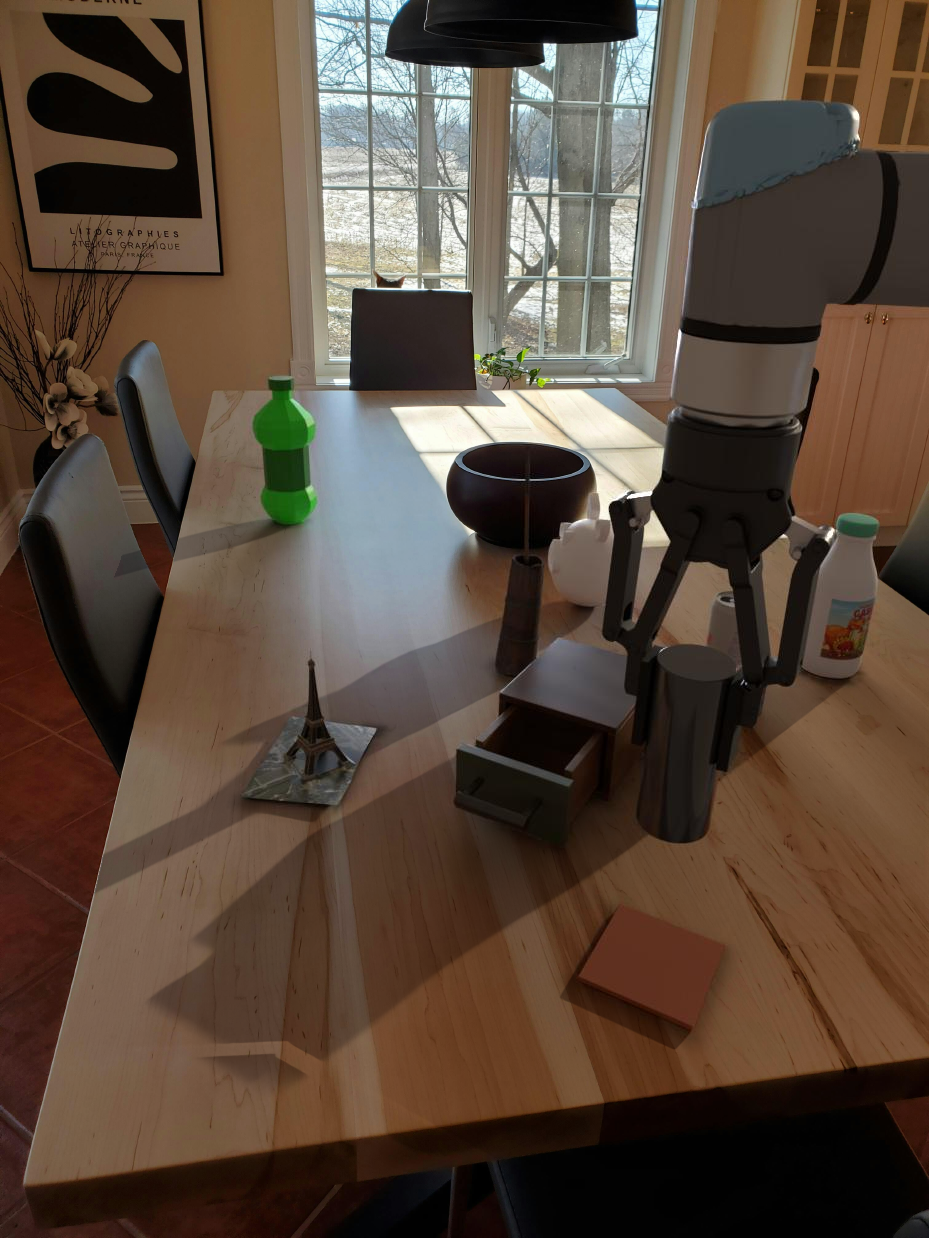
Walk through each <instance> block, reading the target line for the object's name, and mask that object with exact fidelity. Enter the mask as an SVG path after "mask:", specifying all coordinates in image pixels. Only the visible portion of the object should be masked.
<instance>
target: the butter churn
mask: <svg viewBox="0 0 929 1238" xmlns="http://www.w3.org/2000/svg"><path fill="white" fill-rule="evenodd" d="M524 459H525V460H524V462H525V463H524V465H525V466H524V469H525V470H524V471H525V472H524V473H525V474H524V476H525V477H524V494H525V495H524V539H523V541H524V543H523V547H524V548H523V549H524V552H523V554H522V553H521V554H514V555H513V556H512V558H511V562H510V570H509V575H508V582H507V587H506V588H507V589H506V595H505V598H504V607H503V615H502V621H501V627H500V631H499V639H498V644H497V650H496V655H495V661H494V665H495V666H494V667H496V668H497V669H498V670H499V672H500V673H501V674H504V675H507V676H512V677H517V676H518V675H519V674H520V673H521V672H522V671H523V670H525V669H526V668H527V667H528V666H529V665H530V664H531V663H532V662H533V661H534V660H535V659H536V658H537V656H538V655H537V654H538V642H539V636H540V635H539V630H540V629H539V627H540V620H541V614H542V613H541V612H542V611H541V610H542V603H543V600H542V599H543V589H544V588H543V587H544V577H545V576H544V575H545V573H544V571H545V570H544V568H545V563H544V560H543V559H542V558H541V557H540V556H539V555H538V554H529V553H530V552H529V550H530V549H529V544H530V543H529V540H530V524H529V523H530V487H531V486H530V485H531V481H530V480H531V479H530V477H531V475H530V474H531V468H530V467H531V446H530V445H526V446H525V458H524Z"/></svg>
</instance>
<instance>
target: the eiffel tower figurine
mask: <svg viewBox="0 0 929 1238" xmlns="http://www.w3.org/2000/svg"><path fill="white" fill-rule="evenodd" d="M309 653H310V656H312V650H310V651H309ZM307 666H308V698H307V700H308V701H307V711H306V715H305V716H304V717H301V716H300V717H299V716H293V715H291V716H290V717H289V718H288V719H287V721H286V723H285V724H284V726H283V728H282V729H281V731H280V732H279V733H278V735H277V738H276V739H275V740H274V742H273V744H272V745H271V747H270V748H269V750H268V752H267V753H266V755H265V757H264V758H263V760H262V761H261V763H260V765H259V766H258V768H257V769H256V771H255V772H254V774H253V776H252V777H251V779H250V781H249V783H248V784H247V786H246V787H245V789H244V791H243V792H242V794H241V795H240V797H241V798H249V799H258V800H268V801H269V800H271V801H281V802H282V801H283V802H293V803H305V804H307V803H308V804H322V805H332V806H338V805H339V804H340V802H341V800H342V799H343V797H344V795H345V793H346V792H347V790H348V788H349V786H350V784H351V783H352V779H353V776H354V775H355V772H356V770H357V768H358V766H359V763H360V761H361V759H362V757H363V755H364V753H365V751H366V749H367V747H368V746H369V744H370V742H371V740H372V738H373V736H375V733H376V731H377V730H378V729H377V728H376V727H371V726H363V725H357V724H349V723H348V724H347V723H341V722H334V721H327V720H325V717H324V715H323V714H322V709H321V705H320V700H319V693H318V686H317V679H316V672H315V667H316V662H315V661H314V660H313V659H312V658H309V660H308V661H307Z"/></svg>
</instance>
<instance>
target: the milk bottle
mask: <svg viewBox="0 0 929 1238" xmlns="http://www.w3.org/2000/svg"><path fill="white" fill-rule="evenodd" d="M835 527H836V528H835V531H836V533H837V538H836V540H835V542H834V544H833V546H832V548H831V549H830V551H829V553H828V554H827V556H826V558H825V559H824V561H823V562H822V564H821V566H820V571H819V577H818V582H817V588H816V593H815V599H814V604H813V610H812V615H811V621H810V626H809V632H808V637H807V643H806V648H805V654H804V659H803V664H802V667H801V669H803V670H805V671H806V672H809V673H810V674H813V675H816V676H819V677H823V678H829V679H847V678H850V677H853V676H854V675H855V674H856V673H857V672H858V671H859V669H860V666H861V663H862V659H863V654H864V651H865V646H866V642H867V638H868V637H867V636H868V634H869V629H870V626H871V621H872V616H873V612H874V607H875V603H876V597H877V593H878V585H879V582H878V580H879V579H878V573H877V567H876V565H875V560H874V554H873V542H874V541H875V540H876V539H877V534H878V531H879V527H880V522H879V520H878V519H877V518H875V517H874V516H871V515H867V514H863V513H854V512H847V513H846V512H845V513H842V514H840V515H839V516H838V518H837V521H836V525H835Z"/></svg>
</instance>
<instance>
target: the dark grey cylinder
mask: <svg viewBox="0 0 929 1238" xmlns="http://www.w3.org/2000/svg"><path fill="white" fill-rule="evenodd" d="M737 669H738V668H737V664H736V662H735V661H734V660H733V659H732V658H731V657H730V656H729V655H727V654H725V653H724V652H722V651H719V650H717V649H714V648H711V647H707V646H706V645H701V644H695V643H694V644H693V643H679V644H673V645H669V646H665V648H664V649H662V650H661V651H660V652H659V653H658V655H657V657H656V665H655V673H654V680H653V688H652V696H651V703H650V711H649V719H648V726H647V734H646V741H645V749H644V750H643V757H642V766H641V772H640V781H639V786H638V787H639V789H638V795H637V803H636V812H635V817H636V821H637V824H638V825H639V827H640V828H641V829H642V830H643V831H644V832H645V833H646V834H647V835H650V836H651V837H653V838H655V839H657V840H659V841H662V842H665V843H670V844H678V845H680V844H683V845H684V844H692V843H695V842H698V841H700V840H702V839H704V837H706V836H707V834H708V833H709V831H710V827H711V821H712V816H713V810H714V806H715V805H714V804H715V799H716V793H717V786H718V782H719V778H720V777H719V776H720V771H719V770H716V763H717V757H718V752H719V746H720V740H721V734H722V729H723V723H724V717H725V712H726V706H727V700H728V694H729V689H730V684H731V683H732V681H733V679H734V678H735V676H736V674H737Z"/></svg>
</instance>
